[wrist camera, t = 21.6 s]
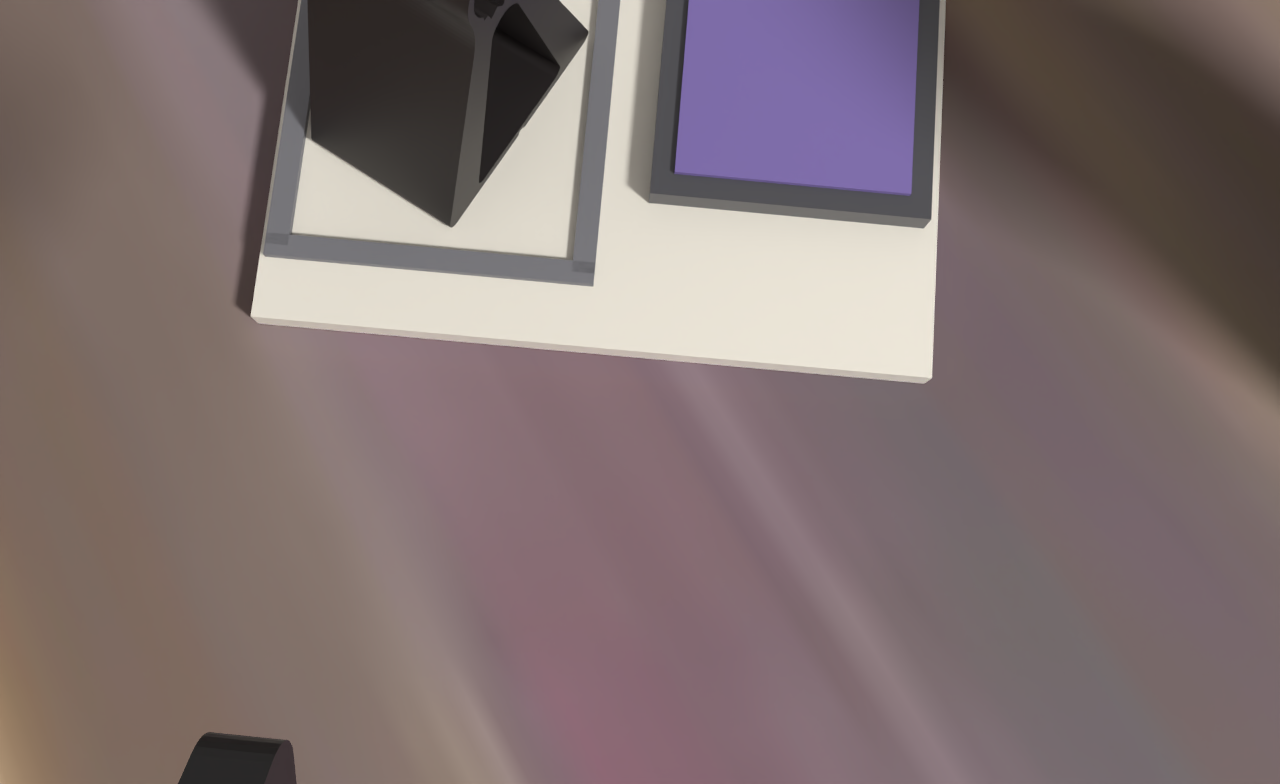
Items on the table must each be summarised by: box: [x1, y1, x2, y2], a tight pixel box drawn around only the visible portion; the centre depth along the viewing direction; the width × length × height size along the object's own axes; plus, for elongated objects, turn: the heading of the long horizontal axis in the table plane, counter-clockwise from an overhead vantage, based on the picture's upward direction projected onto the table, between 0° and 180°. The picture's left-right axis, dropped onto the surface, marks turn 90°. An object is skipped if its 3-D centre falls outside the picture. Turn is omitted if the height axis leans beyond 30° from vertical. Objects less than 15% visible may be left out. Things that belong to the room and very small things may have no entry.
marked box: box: [263, 0, 620, 287], centre depth 44 cm, size 12×15×1 cm
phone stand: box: [307, 0, 588, 228], centre depth 38 cm, size 9×6×12 cm, turn 147°
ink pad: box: [649, 0, 940, 229], centre depth 44 cm, size 10×12×1 cm
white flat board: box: [251, 0, 946, 384], centre depth 44 cm, size 24×19×1 cm
